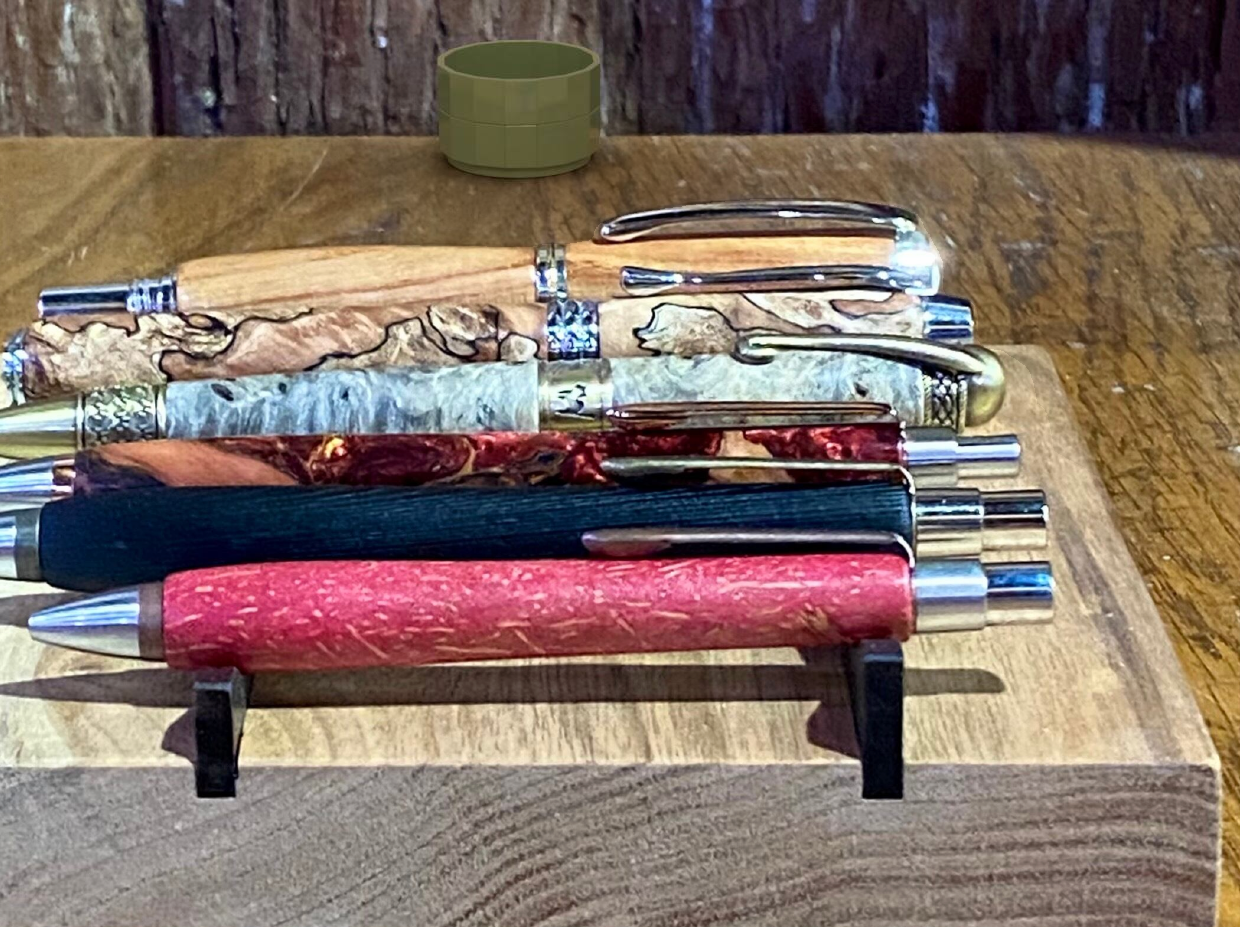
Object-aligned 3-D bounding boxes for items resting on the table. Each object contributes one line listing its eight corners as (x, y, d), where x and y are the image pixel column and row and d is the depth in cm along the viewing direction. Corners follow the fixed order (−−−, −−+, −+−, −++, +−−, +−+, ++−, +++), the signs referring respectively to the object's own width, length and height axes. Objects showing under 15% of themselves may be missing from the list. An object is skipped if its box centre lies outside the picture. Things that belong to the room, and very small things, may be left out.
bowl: (594, 133, 119) (595, 38, 116) (603, 179, 112) (604, 79, 109) (440, 136, 119) (438, 41, 117) (439, 182, 112) (436, 82, 109)
